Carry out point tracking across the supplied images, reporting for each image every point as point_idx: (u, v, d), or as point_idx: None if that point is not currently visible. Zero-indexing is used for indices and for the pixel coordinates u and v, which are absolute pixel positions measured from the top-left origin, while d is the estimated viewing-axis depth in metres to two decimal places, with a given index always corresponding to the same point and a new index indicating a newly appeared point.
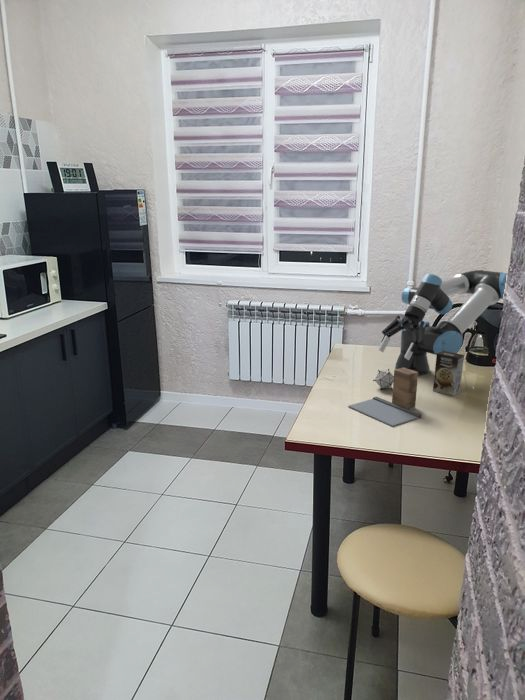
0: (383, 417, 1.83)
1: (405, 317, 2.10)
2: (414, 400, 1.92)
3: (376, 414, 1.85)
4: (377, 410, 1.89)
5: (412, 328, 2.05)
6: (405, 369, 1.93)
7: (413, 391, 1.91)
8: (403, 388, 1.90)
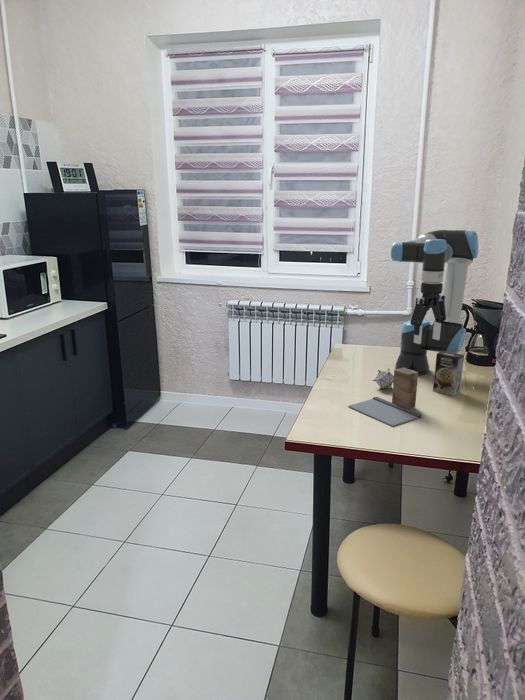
0: (383, 417, 1.83)
1: (428, 296, 1.87)
2: (414, 400, 1.92)
3: (376, 414, 1.85)
4: (377, 410, 1.89)
5: (438, 307, 1.91)
6: (405, 369, 1.93)
7: (413, 391, 1.91)
8: (403, 388, 1.90)
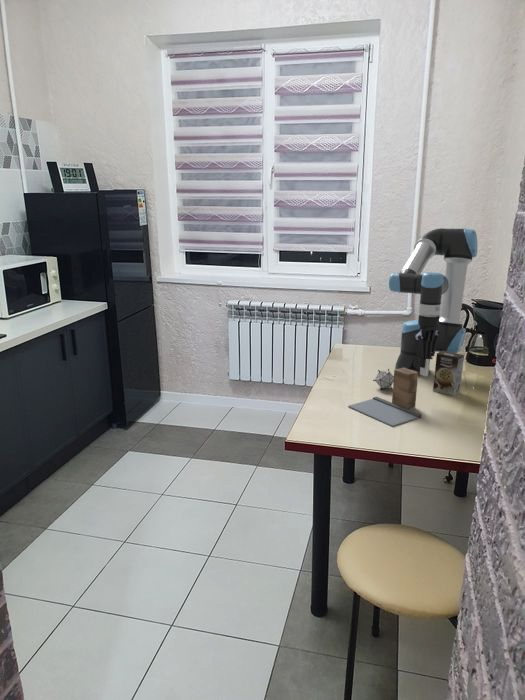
0: (383, 417, 1.83)
1: (424, 329, 1.90)
2: (414, 400, 1.92)
3: (376, 414, 1.85)
4: (377, 410, 1.89)
5: (432, 341, 1.94)
6: (405, 369, 1.93)
7: (413, 391, 1.91)
8: (403, 388, 1.90)
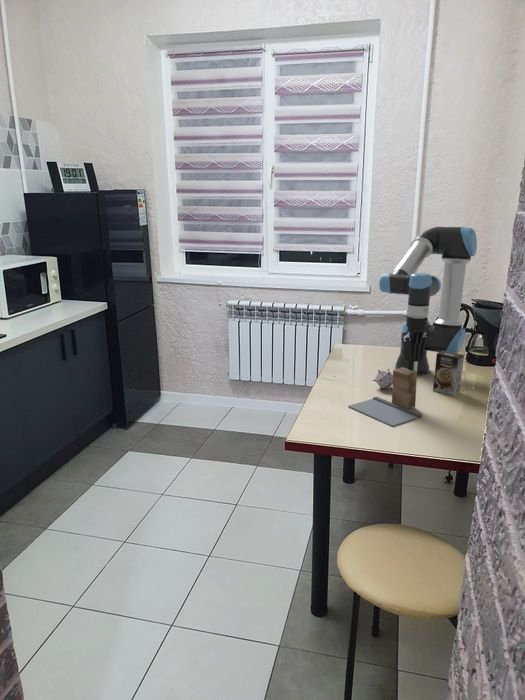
0: (383, 417, 1.83)
1: (412, 330, 1.86)
2: (414, 400, 1.92)
3: (376, 414, 1.85)
4: (377, 410, 1.89)
5: (420, 343, 1.90)
6: (404, 368, 1.93)
7: (413, 391, 1.90)
8: (402, 388, 1.90)
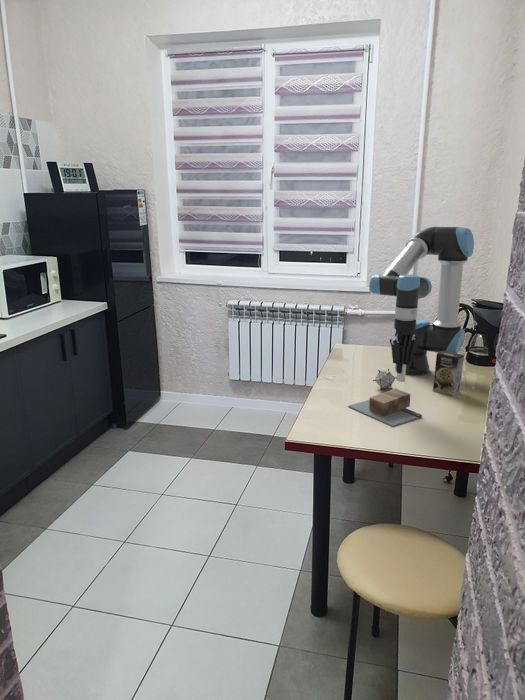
0: (383, 417, 1.83)
1: (400, 333, 1.83)
2: (404, 397, 1.89)
3: (376, 414, 1.85)
4: None
5: (409, 345, 1.87)
6: (373, 400, 1.87)
7: (397, 402, 1.87)
8: None
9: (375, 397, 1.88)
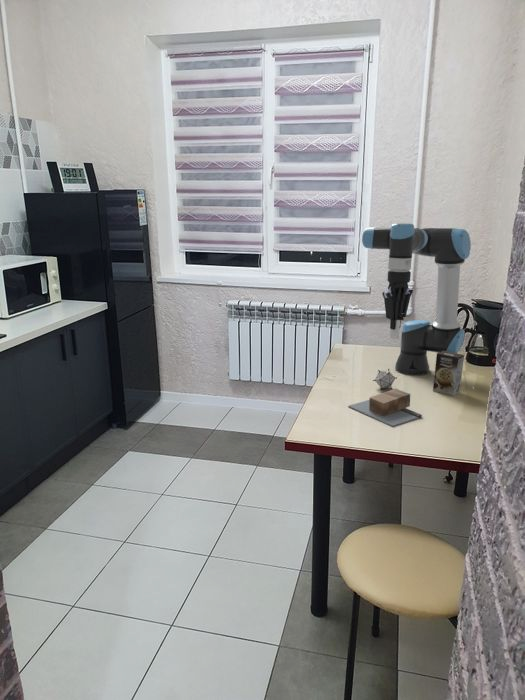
0: (383, 417, 1.83)
1: (394, 285, 1.73)
2: (404, 397, 1.89)
3: (376, 414, 1.85)
4: None
5: (403, 299, 1.76)
6: (373, 400, 1.87)
7: (397, 402, 1.87)
8: None
9: (375, 397, 1.88)
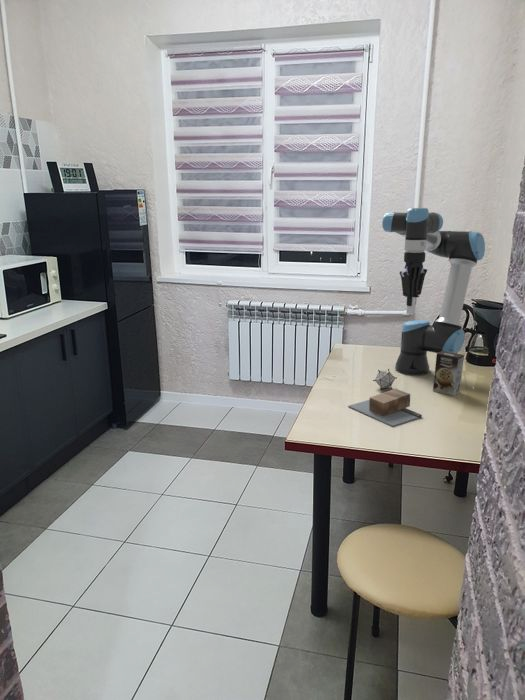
0: (383, 417, 1.83)
1: (410, 265, 1.88)
2: (404, 397, 1.89)
3: (376, 414, 1.85)
4: None
5: (418, 278, 1.92)
6: (373, 400, 1.87)
7: (397, 402, 1.87)
8: None
9: (375, 397, 1.88)
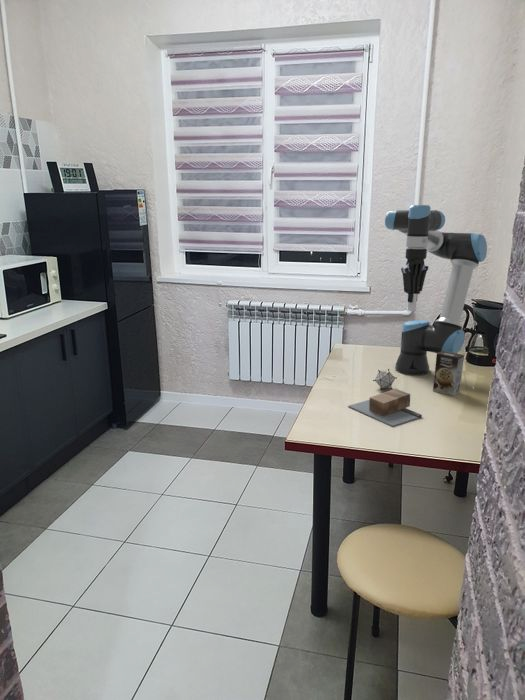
0: (383, 417, 1.83)
1: (412, 261, 1.90)
2: (404, 397, 1.89)
3: (376, 414, 1.85)
4: None
5: (420, 275, 1.93)
6: (373, 400, 1.87)
7: (397, 402, 1.87)
8: None
9: (375, 397, 1.88)
